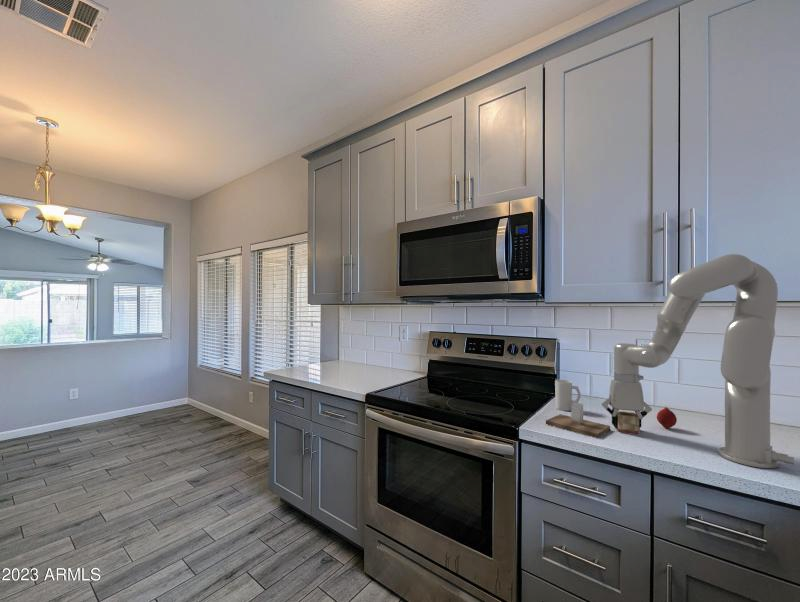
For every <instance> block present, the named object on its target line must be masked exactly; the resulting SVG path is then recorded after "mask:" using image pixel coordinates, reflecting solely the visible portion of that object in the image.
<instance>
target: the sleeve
mask: <svg viewBox="0 0 800 602" xmlns="http://www.w3.org/2000/svg"><path fill="white" fill-rule="evenodd" d="M617 418H618V428H615V430H616V429H617V430H616V432H618V433H619V432H623V433H622V434H628V433H631V434H630V435H638V434H639V435H640V430H639V417H638V416H637V415H636V413H635V411H625V410H619V411H618V413H617Z"/></svg>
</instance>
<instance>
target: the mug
mask: <svg viewBox="0 0 800 602" xmlns="http://www.w3.org/2000/svg"><path fill="white" fill-rule="evenodd" d="M554 386H555V387H554V389H555V392H554V395H555V409H557V410H559V411H562V410H563V411H564V412H568V411H569V412H571V404H573V403H579V401H580V400H581V391H580V389H579V386H578V385H573V381H571V380H568V379H555V380H554ZM573 390H575V392H576V393H577V397H576V399H575V400H573V394H572V393H573Z"/></svg>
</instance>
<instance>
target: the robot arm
mask: <svg viewBox="0 0 800 602" xmlns="http://www.w3.org/2000/svg"><path fill="white" fill-rule="evenodd" d="M729 286H734V288H735V291H736V297H735V302H734V303H735V306H734V313H733V318H732V320H731V321H730V322H729V323H728V325H727V326H726V328H725V332H724V340H723V344H722V345H723V347H722V353H721V361H720V374H721V375H722V377H723V378H724V446H720V447H718V449H717V452H718V455H720V456H721V457H723V458H724V459H727V460H729V461H731V462H735V463H738V464H741V465H745V466H747V467H748V466H749V467H753V468H761V469H775V468H778V467H779V462H782V463H785V464H788V465H793V466H794V465H795V456H794V457H793V456H789V454H786V453H780V452H777V451H776V450H773V446H772V445H771V379H772V378H771V376H772V375H771V374H772V373H771V367H770V364H771V358H772V353H773V352H772V351H773V345H774V344H773V343H774V339H775V335H776V331H775V330H776V329H775V323H776V322H775V321H776V315H777V305H778V304H777V303H778V293H779V290H778V284H777V281H776V279H775V277H774V275H773V274H772V273H771V272H770V271H769V270H768V269H767V268H766V267H764V266H763V265H761V264H759V263H758V262H755V261H753V260H751V259H749V257H747V256H745V255H743V254H738V253H734V254H733V253H731V254H725V255H722V256H719V257H717V258H714V259H712V260H709V261H707V262H704V263H702V264H700V265H697V266H694V267H691V268H689V269H686V270H683V271H681V272H678V273H677V274H675V275H674V276H673V277H672V278H671V279H670V280H669V283H668V289H669V293H668V294H667V297H665V300H664V301H663V304H662V305H661V307H660V309H659V311H658V312H657V316H656V322H657V323H656V328H655V332H654V334H653V335H652V337H651V338H650V340H649V342H648V344H647V345H637V344H634V343H623V342H621V343H616V344H615V345H614V346H613V356H614V357H613V379H611V381H610V386H609V391H608V392H609V396H608V398H607V399H606V400H604V401H603V402H602V403H601V406H602V407H603V408H604V409H605V410H606V411H607V412H608V413H609V414H610V415H611V425H612V426H613V427H614V428H615V429H616V428H618V418H617V413H618V411H629V412H634V413H635V414H636V415H637V416H638V417H639V431H641V430H640V429H641V428H642V420H643V419H644V417H646V416H647V415H648V414H649V413H650V412H651V411H653V408H652V407H651V406H650V405H649V404H647V403H646V402H645V401H644V391H643V386H642V383H641V382H640V381H641V380H644V375H640V367H643V368H648V369H649V368H650V369H653V368H654V369H655V368H658V367H660V366H661V365H664V364H665V363H667V362H668V361H669V359H670V358H671V356H672V354H673V353H674V351H675V349H676V347H677V346H678V344H679V342H680V340H681V338H682V336H683V334H684V333H685V331H686V330H687V326H688V324H689V323H690V321H691V319H692V318H693V316H694V314H695V312H696V310H697V308H698V307H699V305H700V303H701V302H702V300H703V299H704V297H705V294H708V293H711V292H714V291H716V290H719V289H722V288H725V287H729ZM639 366H640V367H639ZM608 405H610V406H611V407H609V406H608ZM611 408H612V409H611Z"/></svg>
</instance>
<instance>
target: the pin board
mask: <svg viewBox="0 0 800 602" xmlns="http://www.w3.org/2000/svg"><path fill="white" fill-rule="evenodd" d="M546 424H548V425H547V426H550V425H551V426H550V427H553V426H555V427H554V428H557V427H558V429H561V428H562V429H561V430H565V429H566V430H565V431H568V430H569V432H572V431H573V432H572V433H576V432H577V434H580V435H584V436H588V437H591V436H592V437H591V438H595V437H596V438H595V439H599V438H600V437H602V436H603V435H605V434H606V433H608V432H609V430H611V425H609V424H608V425H607V424H604V423H599V422H595V421H590V420H586V419H583V424H581V425H577V424H573V423H571V416H570V415H569V416H568V415H564V414H561V413H560V414H558V415H554V416H553V417H550V418H549V419H547V420H546V419H545V425H546ZM607 431H608V432H607ZM604 433H605V434H604ZM601 435H602V436H601ZM598 437H599V438H598Z"/></svg>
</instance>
